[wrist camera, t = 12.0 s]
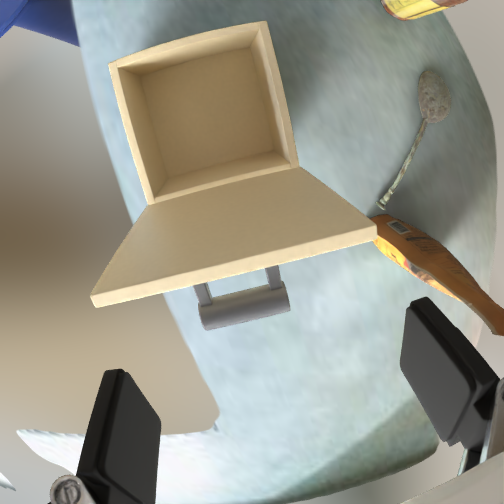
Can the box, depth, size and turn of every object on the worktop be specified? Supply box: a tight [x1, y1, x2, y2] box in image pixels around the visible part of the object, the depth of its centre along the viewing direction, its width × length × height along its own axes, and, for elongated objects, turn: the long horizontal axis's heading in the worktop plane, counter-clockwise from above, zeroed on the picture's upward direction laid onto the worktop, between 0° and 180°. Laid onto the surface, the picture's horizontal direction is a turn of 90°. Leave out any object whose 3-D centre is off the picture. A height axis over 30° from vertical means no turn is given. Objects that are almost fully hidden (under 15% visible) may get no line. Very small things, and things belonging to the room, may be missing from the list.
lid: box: [90, 167, 377, 331], centre depth 22 cm, size 15×15×5 cm
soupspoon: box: [375, 71, 451, 210], centre depth 37 cm, size 22×3×7 cm
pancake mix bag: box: [370, 214, 504, 336], centre depth 32 cm, size 7×19×28 cm, turn 64°
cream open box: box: [108, 21, 299, 205], centre depth 30 cm, size 15×15×10 cm
